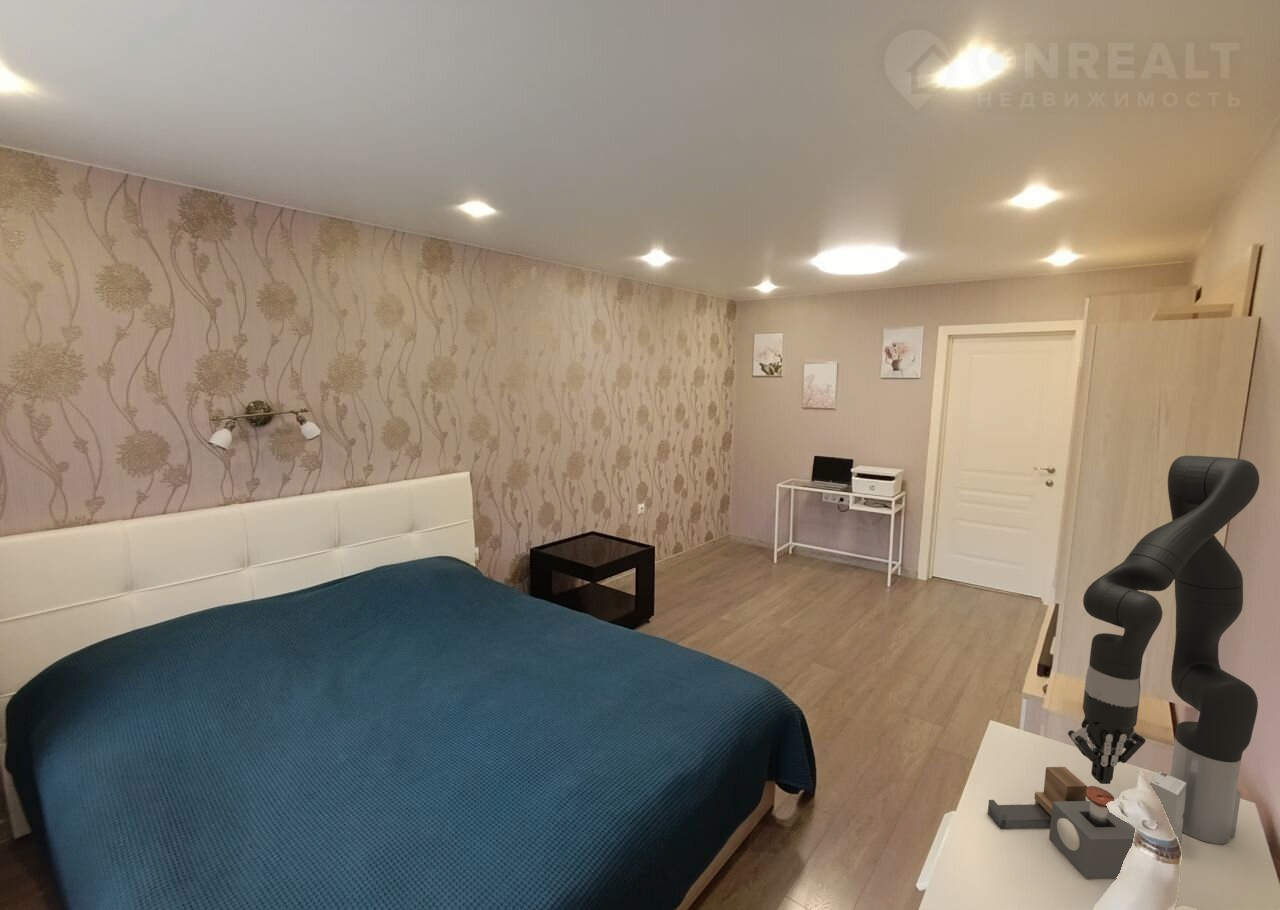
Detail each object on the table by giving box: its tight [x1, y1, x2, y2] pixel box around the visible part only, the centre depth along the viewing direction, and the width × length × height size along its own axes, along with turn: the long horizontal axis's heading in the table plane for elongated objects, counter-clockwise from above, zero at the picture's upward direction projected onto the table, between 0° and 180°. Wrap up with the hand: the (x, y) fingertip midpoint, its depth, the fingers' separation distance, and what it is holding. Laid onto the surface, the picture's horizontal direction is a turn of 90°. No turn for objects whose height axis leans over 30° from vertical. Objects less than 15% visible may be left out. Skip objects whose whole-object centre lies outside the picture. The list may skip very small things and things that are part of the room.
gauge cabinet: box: [1048, 800, 1136, 880], centre depth 104 cm, size 10×9×8 cm
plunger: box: [1086, 785, 1115, 827], centre depth 103 cm, size 4×4×7 cm
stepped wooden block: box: [1034, 766, 1088, 815], centre depth 113 cm, size 7×6×9 cm
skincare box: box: [1149, 771, 1187, 843], centre depth 108 cm, size 6×4×12 cm
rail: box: [987, 799, 1051, 830], centre depth 113 cm, size 20×4×3 cm, turn 91°
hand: (1101, 780), depth 103 cm, fingers closed
